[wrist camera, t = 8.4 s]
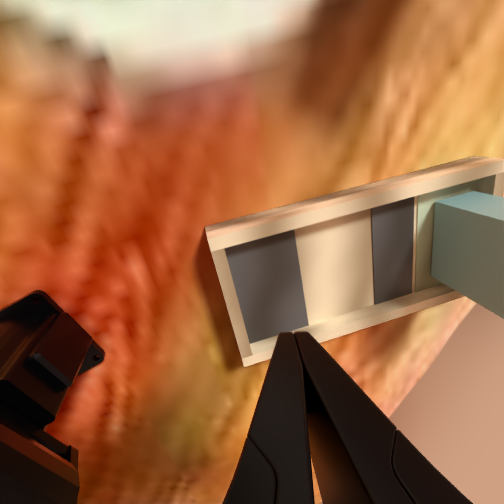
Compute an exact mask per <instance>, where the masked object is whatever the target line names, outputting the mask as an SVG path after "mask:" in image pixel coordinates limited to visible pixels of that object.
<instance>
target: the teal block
mask: <svg viewBox="0 0 504 504" xmlns="http://www.w3.org/2000/svg"><path fill="white" fill-rule="evenodd" d="M431 276H432V277H434V278H435V279H437V280H439V281H440V282H442V283H444V284H445V285H447V286H449V287H451V288H452V289H454V290H456V291H457V292H459V293H461V294H462V295H464V296H466V297H468V298H469V299H471V300H473V301H474V302H476V303H478V304H480V305H481V306H483V307H485V308H486V309H488V310H490V311H491V312H493V313H495V314H497V315H499V316H500V317H502V318H504V197H500V196H495V195H490V194H485V193H480V192H475V191H471V192H468V193H464V194H461V195H457V196H453V197H450V198H446V199H443V200H439V201H435V213H434V231H433V248H432V266H431Z"/></svg>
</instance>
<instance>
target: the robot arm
mask: <svg viewBox="0 0 504 504" xmlns="http://www.w3.org/2000/svg"><path fill="white" fill-rule="evenodd" d="M35 297H38V298H40V299H41V301H38V300H36V299H35ZM94 355H98V356H100V357H96V356H94ZM104 357H105V352H104V350H103V349H102V348H101V347H100V346H99V345H98V344H97V343H96V342H95V341H94V340H93V339H92V337H91V336H90V335H89V334H88V333H87V332H86V331H85V330H84V329H83V328H82V327H81V326H80V325H79V324H78V323H77V322H76V321H75V320H74V319H73V318H72V317H71V316H70V315H69V314H68V313H66V312H64V311H63V310H62V309H61V308H60V307H59V306H58V305H57V304H56V303H55V302H54V301H53V300H52V299H51V298H50V297H49V296H48V295H47V294H46V293H45V292H44V291H41V290H36V291H33V292H31V293H29V294H27V295H26V296H24V297H22V298H20V299H19V300H17V301H15V302H13V303H11V304H10V305H8V306H6V307H4V308H2V309H1V310H0V504H77V497H78V493H79V488H80V487H79V475H78V450H77V449H75V448H74V447H72V446H71V445H70V446H67V445H65V444H64V443H62V442H61V441H59V440H57V439H56V438H54V437H53V436H51V435H50V434H48V433H47V432H45V431H46V429H47V427H48V425H49V423H51V422H53V421H54V420H55V418H56V416H57V414H58V412H59V410H60V407H61V405H62V403H63V401H64V398H65V396H66V394H67V392H68V390H69V387H71V386H72V385H73V383H74V380H75V378H76V376H77V375H79V374H81V373H83V372H85V371H86V370H88V369H90V368H92V367H94V366H95V365H97V364H99V363H101V362H102V361H103V359H104ZM396 429H397V428H396V426H395V425H394V424H393V423H392V422H391V421H390V420H389V419H388V417H387V416H386V415H385V414H384V413H383V412H382V411H381V410H380V409H379V408H378V407H377V406H376V404H375V403H374V402H373V401H372V400H371V399H370V398H369V397H368V396H367V395H366V394H365V392H364V391H363V390H362V389H361V388H360V387H359V386H358V385H357V384H356V383H355V382H354V381H353V379H352V378H351V377H350V376H349V375H348V374H347V373H346V372H345V371H344V370H343V369H342V368H341V366H340V365H339V364H338V363H337V362H336V361H335V360H334V359H333V358H332V357H331V356H330V355H329V353H328V352H327V351H326V350H325V349H324V348H323V347H322V346H321V345H320V344H319V343H318V342H317V340H316V339H315V338H314V337H313V336H312V335H311V334H310V333H309V332H308V331H296V332H294V334H293V332H280V333H279V334H278V337H277V341H276V344H275V347H274V350H273V354H272V357H271V360H270V363H269V367H268V370H267V373H266V376H265V379H264V383H263V386H262V389H261V392H260V396H259V399H258V402H257V405H256V409H255V412H254V415H253V418H252V422H251V425H250V428H249V431H248V434H247V438H246V440H245V443H244V447H243V450H242V453H241V456H240V459H239V462H238V465H237V468H236V470H235V473H234V476H233V479H232V481H231V484H230V486H229V489H228V491H227V494H226V496H225V498H224V501H223V503H222V504H315V502H314V490H313V479H312V467H311V458H312V462H313V466H314V470H315V474H316V478H317V482H318V486H319V490H320V494H321V498H322V502H323V504H473V503H472V502H471V501H470V500H468V499H467V498H466V497H465V496H464V495H463V494H462V493H461V492H460V491H459V490H457V488H456V487H455V486H454V485H452V484H451V483H450V482H449V481H448V480H447V479H446V478H445V477H444V476H443V475H442V474H441V473H440V472H439V471H438V470H437V469H436V468H435V467H434V466H433V465H432V464H431V463H430V462H429V461H428V460H427V459H426V458H425V457H424V456H423V455H422V454H421V453H420V452H419V451H418V450H417V449H416V448H415V446H414V445H413V444H411V442H410V441H409V440H408V439H407V438H406V437H405V436H404V435H403V434H402V432H401V431H400V430H396ZM310 454H311V455H310Z"/></svg>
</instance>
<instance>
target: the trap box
mask: <svg viewBox="0 0 504 504" xmlns="http://www.w3.org/2000/svg"><path fill="white" fill-rule="evenodd" d="M471 191H475V192H480V193H485V194H490V195H495V196H500V197H503V192H504V158H493V157H481V156H472V157H468V158H464V159H461V160H457V161H453V162H449V163H445V164H442V165H438V166H434V167H430V168H426V169H423V170H419V171H415V172H411V173H407V174H404V175H400V176H396V177H392V178H388V179H385V180H381V181H377V182H373V183H369V184H365V185H362V186H358V187H354V188H350V189H346V190H343V191H339V192H335V193H331V194H327V195H324V196H320V197H316V198H312V199H308V200H305V201H301V202H297V203H293V204H289V205H285V206H282V207H278V208H274V209H270V210H266V211H263V212H259V213H255V214H251V215H247V216H244V217H240V218H236V219H232V220H228V221H225V222H221V223H217V224H213V225H209V226H206V227H205V230H206V235H207V240H208V243H209V247H210V250H211V254H212V257H213V261H214V264H215V268H216V271H217V275H218V278H219V281H220V285H221V288H222V292H223V295H224V299H225V302H226V306H227V309H228V313H229V316H230V320H231V323H232V327H233V330H234V333H235V337H236V340H237V344H238V347H239V351H240V354H241V358H242V361H243V365H244V367H246V366H249V365H252V364H255V363H259V362H262V361H265V360H268V359H271V357H272V354H273V350H274V347H275V344H276V341H277V337H278V334H279V333H280V332H293V334H294V332H296V331H308V332H309V333H310V334H311V335H312V336H313V337H314V338H315V339H316V340H317V342H318V343H321V342H324V341H327V340H330V339H333V338H336V337H340V336H343V335H346V334H349V333H352V332H355V331H358V330H361V329H364V328H368V327H371V326H374V325H377V324H380V323H383V322H386V321H389V320H393V319H396V318H399V317H402V316H405V315H408V314H411V313H414V312H417V311H421V310H424V309H427V308H430V307H433V306H436V305H439V304H442V303H446V302H449V301H452V300H455V299H458V298H461V297H464V295H462V294H461V293H459V292H457V291H456V290H454V289H452V288H451V287H449V286H447V285H445V284H444V283H442V282H440V281H439V280H437V279H435V278H434V277H432V276H431V266H432V248H433V231H434V213H435V201H439V200H443V199H446V198H450V197H453V196H457V195H461V194H464V193H468V192H471Z"/></svg>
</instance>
